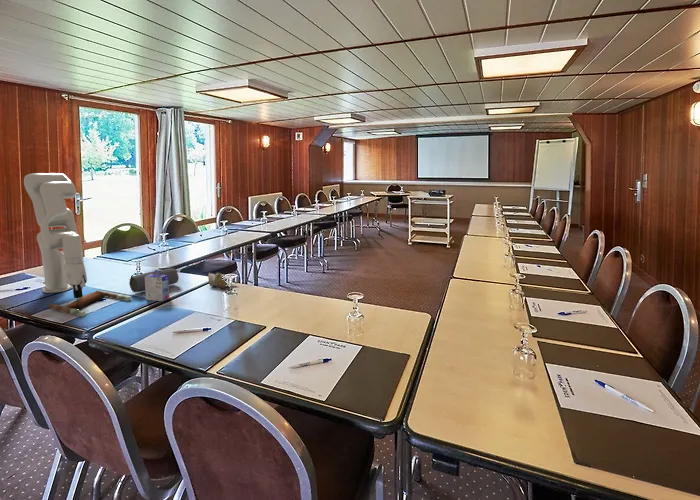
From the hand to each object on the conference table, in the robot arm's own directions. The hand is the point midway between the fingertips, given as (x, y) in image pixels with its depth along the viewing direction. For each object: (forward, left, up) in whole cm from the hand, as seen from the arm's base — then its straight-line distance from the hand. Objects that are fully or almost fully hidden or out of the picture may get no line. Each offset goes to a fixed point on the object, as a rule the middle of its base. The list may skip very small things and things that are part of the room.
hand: (78, 297), depth 199 cm
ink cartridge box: (+30, +20, -3) cm, 36 cm away
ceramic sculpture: (+43, +50, -3) cm, 66 cm away
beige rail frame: (+9, 0, -2) cm, 9 cm away
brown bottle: (+4, 0, -3) cm, 5 cm away
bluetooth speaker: (+16, +31, -3) cm, 35 cm away
